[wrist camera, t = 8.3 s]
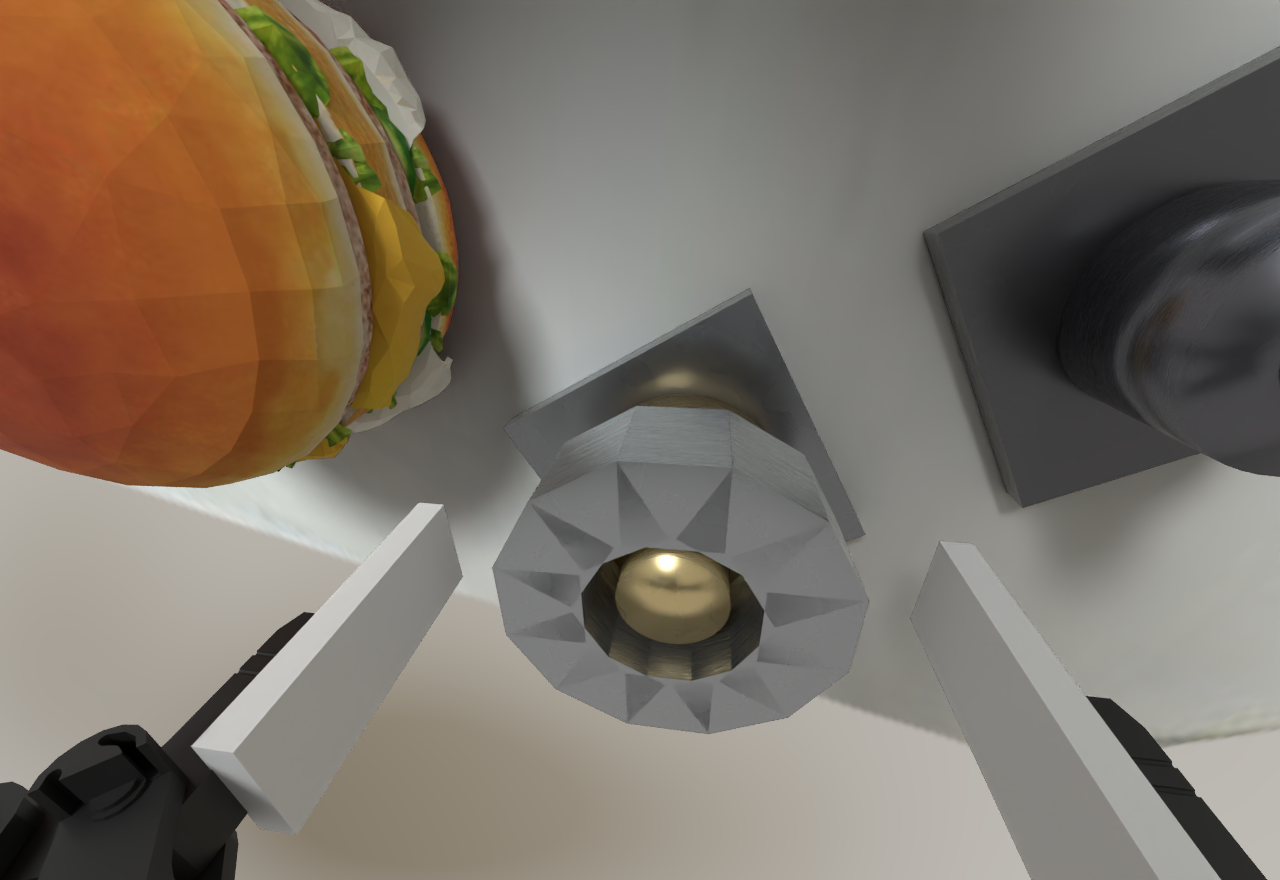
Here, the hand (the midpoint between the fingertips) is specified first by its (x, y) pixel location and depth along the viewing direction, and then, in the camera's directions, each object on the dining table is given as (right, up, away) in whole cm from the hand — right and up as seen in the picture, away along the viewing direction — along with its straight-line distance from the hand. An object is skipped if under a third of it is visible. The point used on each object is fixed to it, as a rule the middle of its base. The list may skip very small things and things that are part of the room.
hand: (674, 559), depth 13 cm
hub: (+1, +2, +6) cm, 6 cm away
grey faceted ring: (0, 0, +2) cm, 2 cm away
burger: (-12, +11, +4) cm, 17 cm away
